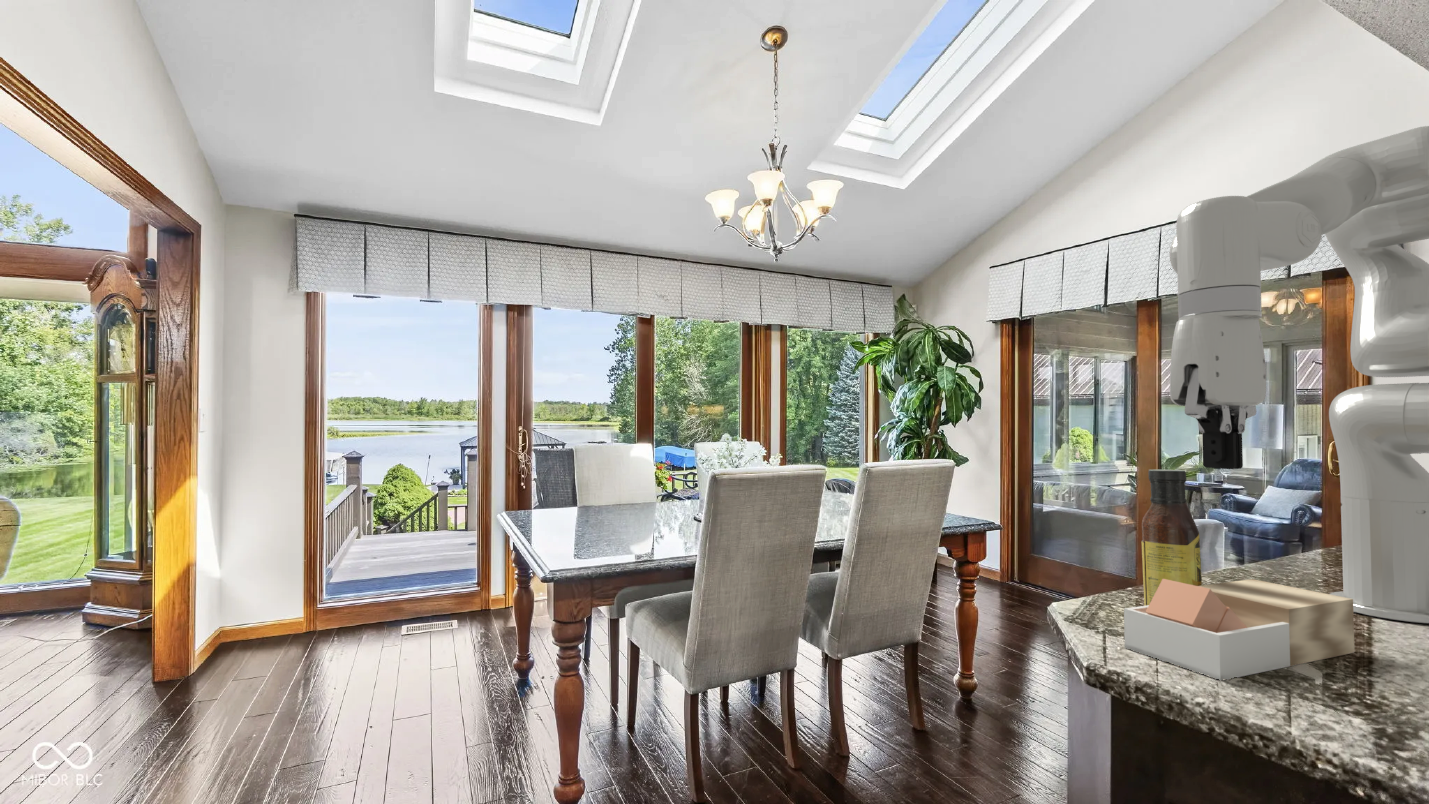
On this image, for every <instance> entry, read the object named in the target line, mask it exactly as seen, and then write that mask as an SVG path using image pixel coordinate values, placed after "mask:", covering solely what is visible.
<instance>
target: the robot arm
mask: <svg viewBox="0 0 1429 804" xmlns="http://www.w3.org/2000/svg"><path fill="white" fill-rule="evenodd" d="M1175 227H1176V228H1175V229H1176V234H1175V235H1174V237H1173V239H1172V242H1171V244H1170V248H1169V261H1170V264H1171V267H1172V269H1173V270H1174V272H1175V273H1176V274H1177V295H1178V296H1177V305H1178V306H1177V308H1178V309H1177V311H1178V312H1177V313H1178V316H1177V317H1178V321H1176V323H1175V328H1174V331H1173V338H1172V344H1171V352H1170V353H1171V355H1170V369H1169V373H1170V374H1169V396H1170V400H1171V402H1172V403H1173V404H1174V405H1177V406H1180V407H1184V414H1185V415H1186V416H1188V417H1192V418H1194V419H1195V420H1196V421H1197V425H1198V431H1199V432H1200V433H1202V436H1201V437H1202V465H1203V467H1204V468H1206V469H1222V470H1223V469H1224V470H1238V469H1239V470H1240V469H1242V468H1243V466H1244V461H1243V460H1244V459H1243V433H1245V430H1246V420H1247V419H1249V418H1251V417H1254V416H1256V414H1257V406H1258V405H1260V404H1261V403H1263V402H1264V400H1265V399H1266V393H1267V375H1266V372H1267V371H1266V369H1267V368H1266V360H1265V351H1264V343H1263V335H1262V330H1261V325H1260V319H1262V318H1263V316H1262V315H1263V314H1262V313H1263V311H1262V280H1261V279H1262V277H1261V276H1262V274H1261V272H1263V271H1268V270H1274V269H1278V268H1283V267H1288V266H1291V265H1295V264H1298V263H1300V262H1302V261H1304V260H1306V259H1308V258H1309V257H1310V256H1311V255H1312V254H1313V253H1315V252H1316V250H1317V249H1318V248H1319V246H1320V244H1321V240H1322V236H1323V235H1325V237H1326V239H1327V241H1328V242H1329V244H1330V246H1331V247H1332V249H1333V251H1334V252H1335V254H1336V255H1337V257H1338V258H1339V260H1340V261H1341V263H1342V264H1343V266H1344V268H1345V269H1346V271H1347V272H1348V274H1349V276H1350V277H1351V280H1352V282H1353V286H1354V301H1353V303H1354V304H1353V312H1352V324H1351V332H1350V333H1351V335H1350V348H1349V350H1350V359H1351V363H1352V364H1351V365H1352V366H1353V368H1354V369H1355V371H1357V372H1359V373H1360V374H1361V375H1365V376H1368V377H1374V378H1407V377H1408V378H1410V377H1429V263H1428V262H1427V261H1426V260H1424V259H1422V258H1420V257H1419V256H1417V255H1415V254H1414V253H1411V252H1410V251H1408V250H1406V249H1404V248H1403V247H1402V246H1400V245H1401V244H1408V243H1413V242H1419V241H1423V240H1429V125H1425V126H1420V127H1415V128H1412V129H1408V130H1405V131H1401V132H1398V133H1395V134H1391V135H1389V136H1388V135H1387V136H1384V137H1381V138H1378V139H1374V140H1371V141H1368V142H1364V143H1361V144H1357V145H1354V146H1350V147H1347V148H1345V149H1341V150H1338V151H1336V152H1334V153H1330V154H1329V155H1327V156H1325V157H1324V158H1321V159H1320V160H1318V161H1316V162H1314V163H1313V164H1311V165H1309V166H1308V167H1305V169H1302V170H1301V171H1300V172H1298V173H1296V174H1294V175H1292V176H1291V177H1289V178H1286V179H1283V180H1282V181H1279V182H1277V183H1274V184H1271V185H1269V186H1267V187H1265V188H1262V189H1260V190H1257V191H1255V192H1254V193H1251V194H1250V195H1247V196H1245V195H1244V196H1243V195H1225V196H1224V195H1223V196H1216V197H1210V198H1207V199H1203V200H1199V201H1197V202H1195V203H1192V204H1189V205H1188V206H1186V207H1185V208H1183V209H1182V210H1181V211H1180V212H1179V214H1178V216H1177V219H1176V226H1175ZM1328 420H1329V425H1330V429H1331V433H1332V436H1333V440H1334V444H1335V448H1336V454H1337V459H1338V468H1339V482H1340V515H1341V517H1340V519H1341V521H1340V522H1341V523H1340V524H1341V554H1342V555H1341V556H1342V559H1341V560H1342V583H1343V584H1342V585H1343V586H1342V588H1343V589H1342V590H1343V591H1334V592H1330V593H1329V594H1330V595H1335V596H1340V597H1345V598H1350V599H1353V613H1358V614H1362V615H1367V616H1370V617H1375V618H1376V617H1377V618H1381V619H1388V620H1393V621H1400V622H1401V621H1402V622H1410V623H1417V624H1418V623H1419V624H1427V625H1428V624H1429V471H1427V470H1426V468H1425V467H1423V466H1422V465H1421V464H1420V463H1419V462H1418V461H1417V460H1416V459H1415V458H1414V457H1413V456H1412V454H1415V455H1416V454H1417V455H1418V454H1429V382H1408V383H1407V382H1406V383H1381V384H1367V385H1362V386H1356V387H1352V388H1349V389H1346V390H1344V391H1342V392H1341V393H1338V394H1337V395H1336V396H1335V397H1334V398H1333V400H1332V401H1331V403H1330V405H1329V409H1328Z"/></svg>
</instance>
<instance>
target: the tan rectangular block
mask: <svg viewBox="0 0 1429 804" xmlns="http://www.w3.org/2000/svg"><path fill="white" fill-rule="evenodd" d="M1199 587H1204V588H1208V589H1211V590H1212V592H1213V593H1214V594H1215V595H1216V596H1217V597H1218V598H1219V599H1220V601H1221V602H1222V603H1223V604H1224V605H1225V606H1226V607H1229V608H1230V609H1231V610H1232V611H1233V612H1234V613H1235V614H1236V615H1237V617H1238V618H1239V619H1240V620H1241V621H1242V622H1243V623H1244V624H1245V625H1246V627H1247V628H1249V627H1255V626H1261V625H1267V624H1273V623H1279V622H1285V623H1289V639H1290V666H1289V667H1292V666H1298V665H1302V664H1306V663H1311V662H1317V661H1322V660H1325V659H1331V658H1334V657H1340V656H1344V655H1348V654H1354V653H1355V649H1356V648H1355V624H1354V623H1355V621H1354V612H1353V599H1350V598H1345V597H1340V596H1335V595H1330V593H1324V592H1320V591H1319V592H1318V591H1314V590H1310V589H1305V588H1299V587H1294V586H1289V585H1285V584H1284V585H1283V584H1279V583H1274V582H1269V581H1265V580H1260V579H1259V580H1258V579H1254V578H1250V579H1243V580H1235V581H1233V580H1232V581H1226V582H1220V583H1211V584H1205V585H1204V584H1202V586H1199Z"/></svg>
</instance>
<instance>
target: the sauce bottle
mask: <svg viewBox="0 0 1429 804" xmlns="http://www.w3.org/2000/svg"><path fill="white" fill-rule="evenodd" d="M1186 472H1187V471H1185V470H1184V469H1161V468H1160V469H1148V480H1149V482H1150V499H1149V500H1150V503H1151V504H1150V506H1149V508H1148V509H1147V511H1146V512H1145V514H1144V515H1143V517H1142V520H1141V533H1142V534H1141V536H1142V540H1141V558H1142V560H1141V561H1142V580H1143V581H1142V583H1143V603H1144V605H1143V606H1146V605H1149V604H1150V602H1151V600H1152V598H1153V597H1154V595H1155V593H1156V591H1157V589H1158V587H1159V585H1160V583H1161V581H1162V579H1167V580H1171V581H1176V582H1181V583H1185V584H1190V585H1195V586H1202V585H1203V584H1202V583H1203V578H1202V577H1203V576H1202V575H1203V574H1202V558H1201V544H1200V543H1201V540H1200V538H1201V537H1200V532H1199V529H1198V527H1197V524H1196V522H1195V520H1194V517H1193V515H1192V513H1191V510H1190V507H1189V506H1188V503H1187V499H1186V484H1185V483H1186V482H1187V474H1186Z"/></svg>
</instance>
